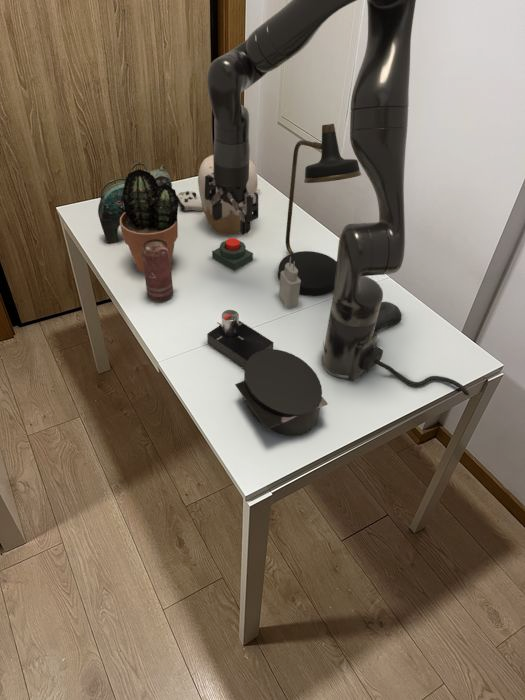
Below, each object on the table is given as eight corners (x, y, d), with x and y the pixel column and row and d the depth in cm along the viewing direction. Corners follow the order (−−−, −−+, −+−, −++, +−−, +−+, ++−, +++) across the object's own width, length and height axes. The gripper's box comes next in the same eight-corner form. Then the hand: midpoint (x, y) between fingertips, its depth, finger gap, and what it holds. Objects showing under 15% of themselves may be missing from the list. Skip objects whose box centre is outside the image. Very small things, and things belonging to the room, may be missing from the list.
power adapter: (287, 309, 126) (291, 267, 118) (277, 295, 129) (281, 254, 121) (298, 306, 127) (304, 264, 119) (289, 292, 130) (293, 251, 122)
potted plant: (142, 286, 129) (128, 191, 112) (117, 259, 137) (101, 166, 120) (190, 269, 136) (185, 176, 118) (164, 244, 143) (156, 153, 126)
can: (169, 305, 125) (164, 255, 115) (144, 300, 126) (136, 250, 116) (177, 289, 129) (173, 240, 120) (152, 285, 130) (146, 236, 120)
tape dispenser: (288, 365, 114) (288, 339, 109) (335, 422, 102) (338, 395, 97) (226, 389, 109) (224, 362, 104) (268, 451, 97) (268, 424, 92)
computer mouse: (413, 323, 124) (417, 310, 122) (370, 348, 117) (374, 336, 115) (381, 301, 130) (384, 288, 127) (338, 324, 123) (341, 311, 120)
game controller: (206, 208, 156) (191, 197, 152) (194, 221, 157) (179, 211, 153) (196, 193, 162) (182, 181, 158) (185, 206, 164) (170, 195, 160)
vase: (236, 247, 144) (237, 166, 128) (188, 229, 149) (184, 149, 133) (265, 222, 154) (270, 144, 138) (219, 206, 159) (219, 129, 143)
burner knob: (229, 323, 117) (229, 306, 113) (241, 330, 115) (242, 313, 112) (218, 331, 115) (218, 314, 111) (230, 339, 113) (230, 322, 110)
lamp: (300, 305, 127) (319, 147, 100) (258, 258, 141) (265, 107, 114) (356, 288, 133) (388, 134, 106) (310, 244, 146) (329, 98, 120)
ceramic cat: (171, 222, 151) (166, 154, 137) (179, 234, 147) (173, 164, 133) (101, 235, 145) (87, 165, 131) (106, 248, 141) (93, 176, 127)
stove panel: (272, 352, 115) (273, 341, 113) (247, 371, 111) (248, 360, 108) (230, 324, 121) (230, 313, 119) (204, 341, 117) (204, 331, 114)
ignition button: (242, 247, 137) (242, 241, 136) (232, 253, 135) (232, 247, 134) (232, 242, 139) (232, 236, 138) (222, 247, 137) (222, 241, 136)
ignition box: (252, 260, 140) (253, 247, 137) (234, 271, 136) (234, 258, 133) (230, 248, 143) (230, 235, 141) (212, 258, 139) (211, 245, 137)
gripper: (268, 164, 110) (264, 232, 122) (219, 142, 116) (220, 208, 128) (244, 176, 106) (242, 245, 117) (194, 152, 112) (197, 220, 124)
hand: (230, 225), depth 123 cm, fingers open, 8 cm apart
